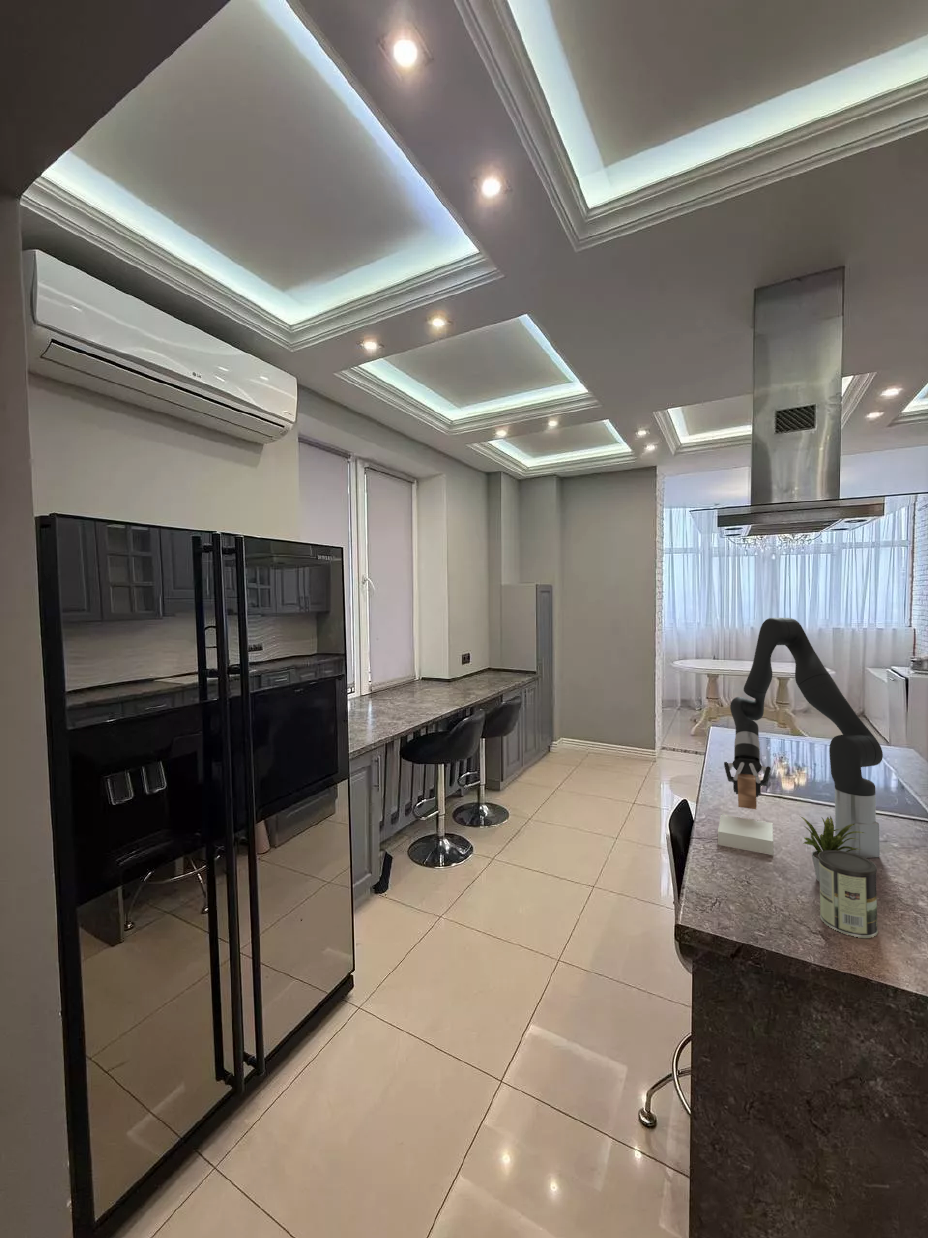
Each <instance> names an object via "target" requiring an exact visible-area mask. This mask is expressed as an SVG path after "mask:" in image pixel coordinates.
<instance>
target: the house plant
mask: <svg viewBox="0 0 928 1238" xmlns="http://www.w3.org/2000/svg"><path fill="white" fill-rule="evenodd" d="M829 815H830V814H829ZM799 817H801V819H802V820H803V821H804V822H805V823H806V825H807V826H808V827H809V828H808V827H806V826H805V825H803V827H804V828H805V829H806V830H807V831H808V832H809V834H810V838H809V837H804V839H805V840H806V841H805V842H803V843H802V845H809V846H813V847H814V849H815V850H814V851H812V852H811V859H812V862H813V868H814V872H815V873H814V874H815V878H816V880H817V882H819V883H820V878H819V859H818V854H819V853H820V852H822V851H826V850H838V851H840V850H842V849H845V848H849V849H850V850H848V851H846V852H849V851H851V850H856V849H858V848H852V847H849V846H843V847H840V846H841V845H842V844H843V843H845V841H847V840H850V839H856V838H849V839H846V840H845V841H844V842H843V841H842V840H843V839H844V838H846V837H845V836H847V835H849V834H852V833H864V832H859V831H852V832H849V833H847V834H845V833H846V832H847V831H848V830H849V829H852V828H850V827H851V826H853V825H854V824H850V825H848V826H846V827H844V828H842V830H841V831H840V832H839V833H838V834H837V836H835V835H834V834H835V831H836V830H840V829H835V823H834V820H833V818H832V816H831V815H830V816H827V818H825V819H824V818H823V817H821V819H822V822H823V825H824V827H823V833H820V835H819V834H818V831H816V828H815V827H814V826H813V825H812V823H810V821H808V820H807V819H806V818H805V817H803V816H800V815H799ZM844 834H845V835H844ZM843 835H844V836H843ZM842 836H843V837H842ZM857 840H859V839H857ZM839 847H840V848H839ZM838 848H839V849H838ZM859 850H861V849H859ZM856 851H857V850H856Z"/></svg>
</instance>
